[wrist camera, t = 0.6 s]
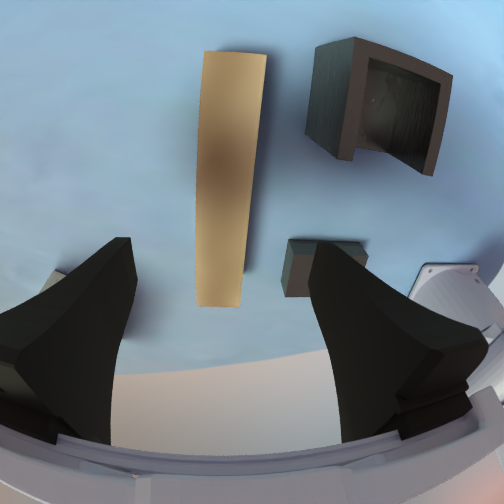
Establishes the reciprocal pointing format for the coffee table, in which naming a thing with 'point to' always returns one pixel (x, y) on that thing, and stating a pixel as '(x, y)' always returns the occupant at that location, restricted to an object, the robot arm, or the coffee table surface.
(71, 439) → the robot arm
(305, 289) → the rest block
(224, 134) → the rail
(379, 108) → the dark grey open box
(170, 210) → the coffee table surface
